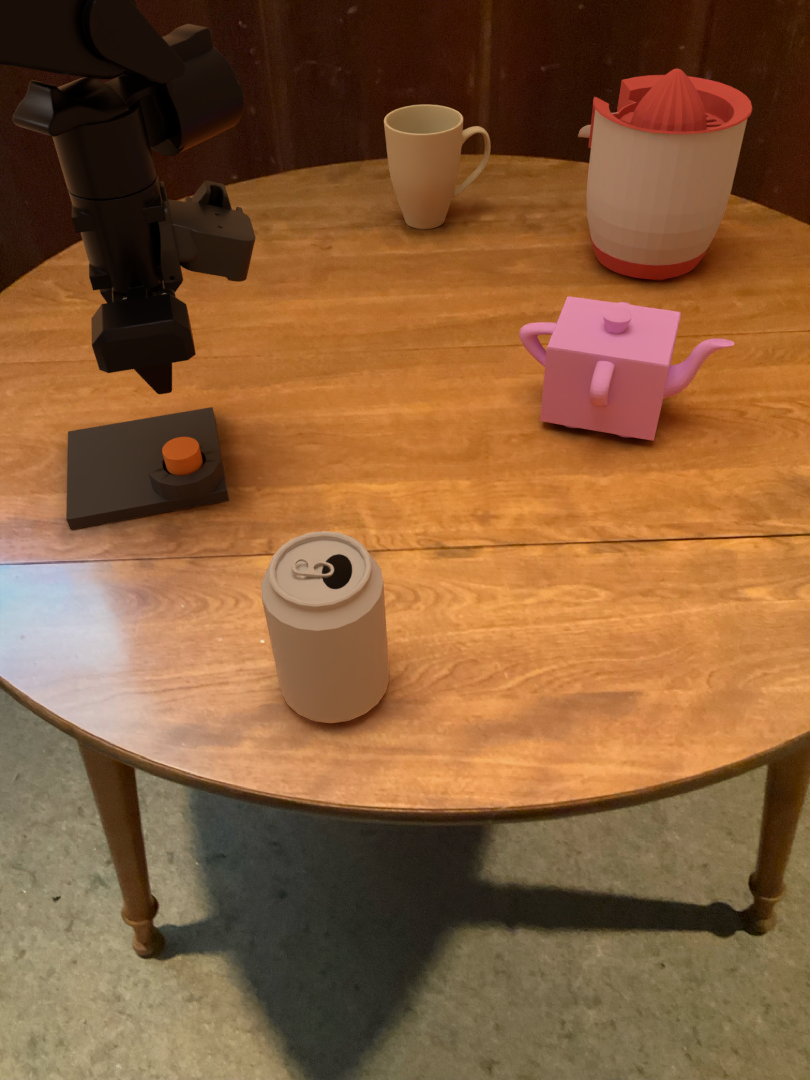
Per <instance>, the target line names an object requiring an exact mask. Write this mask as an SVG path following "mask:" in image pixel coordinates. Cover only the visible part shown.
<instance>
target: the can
mask: <svg viewBox="0 0 810 1080" xmlns="http://www.w3.org/2000/svg"><path fill="white" fill-rule="evenodd" d="M382 572H383V571H382V568H381V567H380V565H379V564H378V562H377V561H376V559H375V557H374V556H373V555H371V554H370V552H369V551H368V549H367V548H366V547H365V545H364V544H363V543H361V542H360V541H359V540H357V539H356V538H355V537H353V536H351V535H347V534H344V533H342V532H339V531H328V530H320V531H312V532H311V531H310V532H307V533H304V534H301V535H298V536H295V537H293V538H291V539H289V540H288V541H287V542H285V543H283V544H282V545H280V547H279V548H278V549H277V551H276V552H275V553H274V554H273V555H272V557H271V558H270V562H269V565H268V567H267V569H266V570H265V572H264V575H263V577H262V579H261V580H262V581H261V583H260V592H261V601H262V606H263V612H264V616H265V621H266V626H267V631H268V636H269V639H270V645H271V650H272V656H273V659H274V665H275V669H276V674H277V679H278V685H279V689H280V692H281V694H282V696H283V699H284V701H285V703H286V704H287V706H289V707H290V708H291V709H292V710H293V711H294V712H296V714H297V715H299V716H301V717H304V718H306V719H308V720H311V721H312V722H318V723H327V724H334V723H336V724H337V723H342V722H349V721H352V720H354V719H356V718H359V717H361V716H363V715H365V714H367V713H368V712H369V711H370V710H372V709H373V708H374V707H376V706H377V705H378V704H379V702H380V701H381V699H382V698H383V696H384V695H385V694H386V692H387V690H388V685H389V681H390V677H391V676H390V662H389V648H388V632H387V629H388V628H387V616H386V615H387V613H386V602H385V601H386V599H385V587H384V586H385V585H384V578H383V573H382Z"/></svg>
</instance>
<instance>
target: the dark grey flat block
mask: <svg viewBox="0 0 810 1080" xmlns="http://www.w3.org/2000/svg"><path fill="white" fill-rule="evenodd" d="M178 437H190V438H193V439H195V440H196V441H197V442H198V443H199V447H200V451H201V455H202V460H203V464H202V466H201V468H200V469H199V470H197V471H195V472H194V473H192V474H188V475H182V476H177V475H173V474H171V473H170V472H169V471H168V470H167V468H166V464H165V460H164V457H163V453H162V449H163V446H164V445H165V444H166V443H167V442H168V441H170V440H172V439H174V438H178ZM220 445H221V444H220V439H219V432H218V428H217V421H216V415H215V412H214V407H213V406H210V407H204V408H198V409H193V410H186V411H180V412H175V413H169V414H162V415H157V416H156V415H155V416H151V417H146V418H139V419H133V420H127V421H121V422H115V423H110V424H103V425H96V426H92V427H85V428H80V429H75V430H69V431H67V457H66V458H67V462H66V463H67V464H66V467H67V468H66V512H65V513H66V516H65V517H66V518H65V519H66V520H65V521H66V523H67V525H68V528H69V530H78V529H83V528H88V527H89V528H90V527H94V526H99V525H105V524H110V523H115V522H121V521H126V520H132V519H137V518H142V517H148V516H154V515H159V514H164V513H171V512H176V511H180V510H186V509H192V508H196V507H197V508H198V507H202V506H207V505H208V506H209V505H212V504H213V505H214V504H218V503H224V502H229V501H230V498H229V497H230V496H229V491H228V485H227V479H226V474H225V468H224V461H223V456H222V449H221V446H220Z"/></svg>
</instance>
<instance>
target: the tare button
mask: <svg viewBox="0 0 810 1080" xmlns="http://www.w3.org/2000/svg"><path fill="white" fill-rule="evenodd" d="M162 453H163V457H164V460H165V464H166V468H167V470H168V471H169V472H170V473H171V474H173V475H177V476H182V475H188V474H192V473H194V472H195V471H197V470H199V469H200V468H201V466H202V464H203V460H202V455H201V451H200V447H199V443H198V442H197V441H196V440H195V439H193V438H190V437H178V438H174V439H172V440H170V441H168V442H167V443H166V444H165V445H164V446H163V449H162Z"/></svg>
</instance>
